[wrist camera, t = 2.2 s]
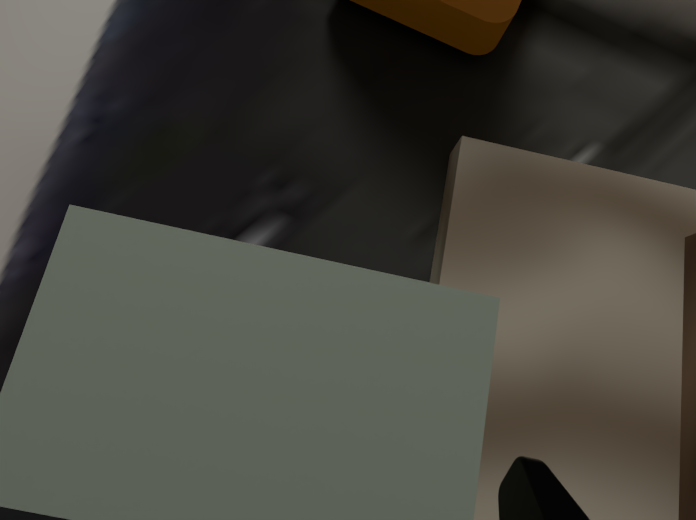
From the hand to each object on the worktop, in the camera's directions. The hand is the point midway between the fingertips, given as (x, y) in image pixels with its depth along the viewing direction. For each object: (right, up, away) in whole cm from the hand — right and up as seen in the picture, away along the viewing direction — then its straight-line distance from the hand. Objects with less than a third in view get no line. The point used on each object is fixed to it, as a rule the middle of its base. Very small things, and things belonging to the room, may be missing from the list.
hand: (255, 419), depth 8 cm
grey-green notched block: (-1, -2, +9) cm, 9 cm away
